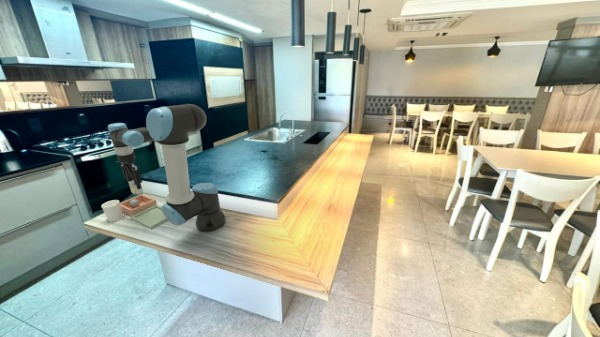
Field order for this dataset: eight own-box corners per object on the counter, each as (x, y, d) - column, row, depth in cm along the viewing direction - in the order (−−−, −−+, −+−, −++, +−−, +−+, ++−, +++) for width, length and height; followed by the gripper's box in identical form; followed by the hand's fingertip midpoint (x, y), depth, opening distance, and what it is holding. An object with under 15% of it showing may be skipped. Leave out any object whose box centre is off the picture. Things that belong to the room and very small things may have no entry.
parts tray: (177, 216, 132) (176, 213, 132) (151, 230, 121) (150, 226, 120) (157, 207, 141) (156, 204, 141) (131, 219, 130) (130, 216, 129)
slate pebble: (142, 206, 143) (140, 199, 141) (133, 209, 139) (131, 203, 137) (137, 203, 145) (135, 196, 143) (128, 207, 141) (126, 200, 139)
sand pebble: (144, 192, 130) (142, 184, 128) (135, 196, 126) (132, 188, 124) (139, 190, 132) (137, 182, 130) (130, 194, 128) (127, 186, 126)
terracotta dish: (157, 206, 142) (155, 199, 140) (133, 218, 131) (130, 210, 129) (144, 201, 149) (142, 194, 147) (120, 211, 138) (117, 204, 136)
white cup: (110, 224, 126) (103, 208, 122) (105, 219, 130) (99, 204, 126) (126, 217, 132) (121, 202, 128) (121, 213, 136) (116, 198, 132)
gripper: (142, 154, 119) (153, 193, 128) (123, 148, 127) (135, 186, 136) (126, 158, 113) (139, 199, 122) (108, 152, 121) (121, 191, 130)
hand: (137, 192), depth 129 cm, fingers closed on sand pebble, 5 cm apart
